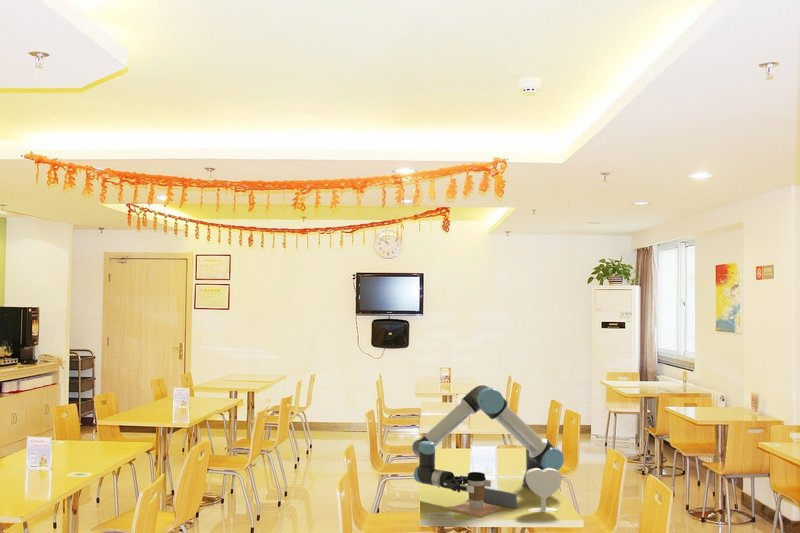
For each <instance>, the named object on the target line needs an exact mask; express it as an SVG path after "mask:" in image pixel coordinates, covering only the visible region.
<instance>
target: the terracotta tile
mask: <svg viewBox="0 0 800 533" xmlns="http://www.w3.org/2000/svg"><path fill="white" fill-rule="evenodd" d="M450 510H451V512H452V511H453V512H457V513H461V514H466V515H470V516H474V517H478V518H483V517H486V516H488V515H490V514H493V513H495V512H497V511H501V510H502V506H501V505H496V504H491V503H487V502H483V508H482V509H472V508H470V504H469V500H468V501H466V502H464V503H461V504H458V505H455V506H453V507H450Z"/></svg>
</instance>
